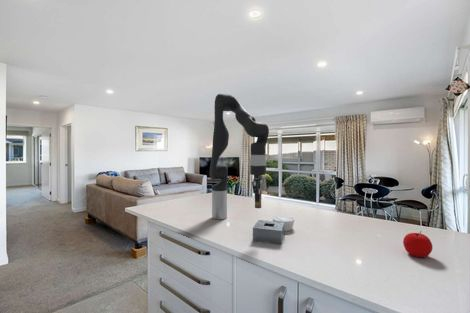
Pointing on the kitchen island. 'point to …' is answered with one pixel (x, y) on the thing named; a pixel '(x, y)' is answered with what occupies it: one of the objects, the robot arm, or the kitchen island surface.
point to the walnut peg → (258, 204)
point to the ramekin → (285, 222)
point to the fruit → (417, 244)
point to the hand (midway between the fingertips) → (258, 200)
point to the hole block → (268, 231)
